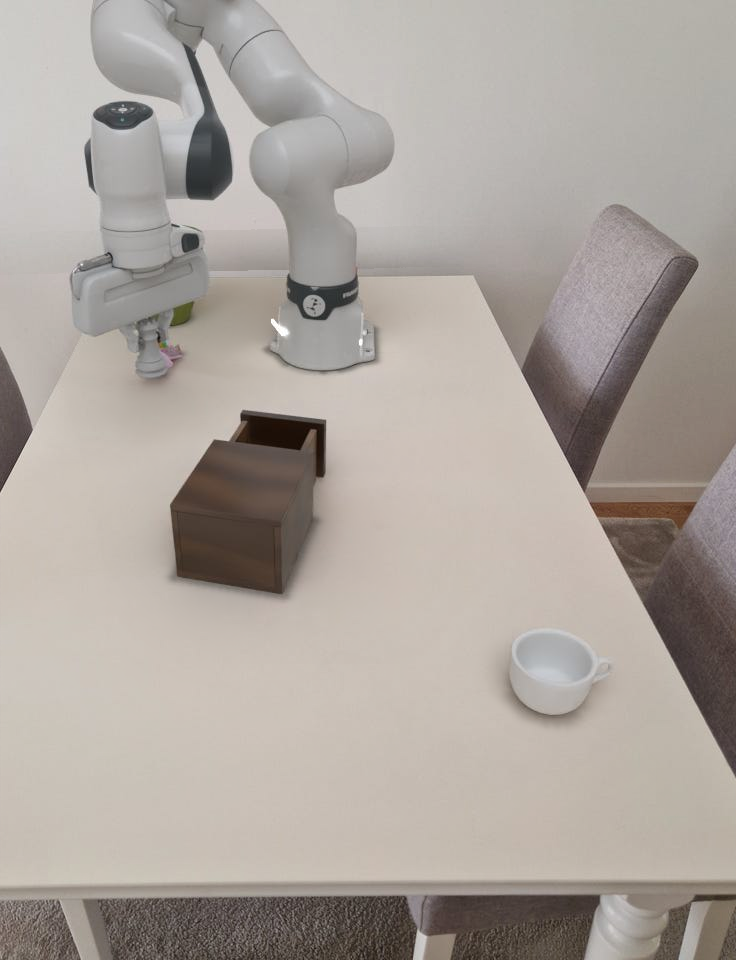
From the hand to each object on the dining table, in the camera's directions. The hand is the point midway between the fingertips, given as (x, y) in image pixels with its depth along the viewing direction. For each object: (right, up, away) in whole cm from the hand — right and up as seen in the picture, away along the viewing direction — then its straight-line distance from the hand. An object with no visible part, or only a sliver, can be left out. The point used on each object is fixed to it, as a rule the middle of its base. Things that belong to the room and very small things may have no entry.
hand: (148, 345), depth 114 cm
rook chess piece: (0, -4, +2) cm, 4 cm away
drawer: (+17, -19, -2) cm, 26 cm away
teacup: (+45, -39, -32) cm, 68 cm away
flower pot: (-4, +13, +49) cm, 50 cm away
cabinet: (+14, -26, -12) cm, 32 cm away
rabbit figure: (-3, 0, +29) cm, 29 cm away
